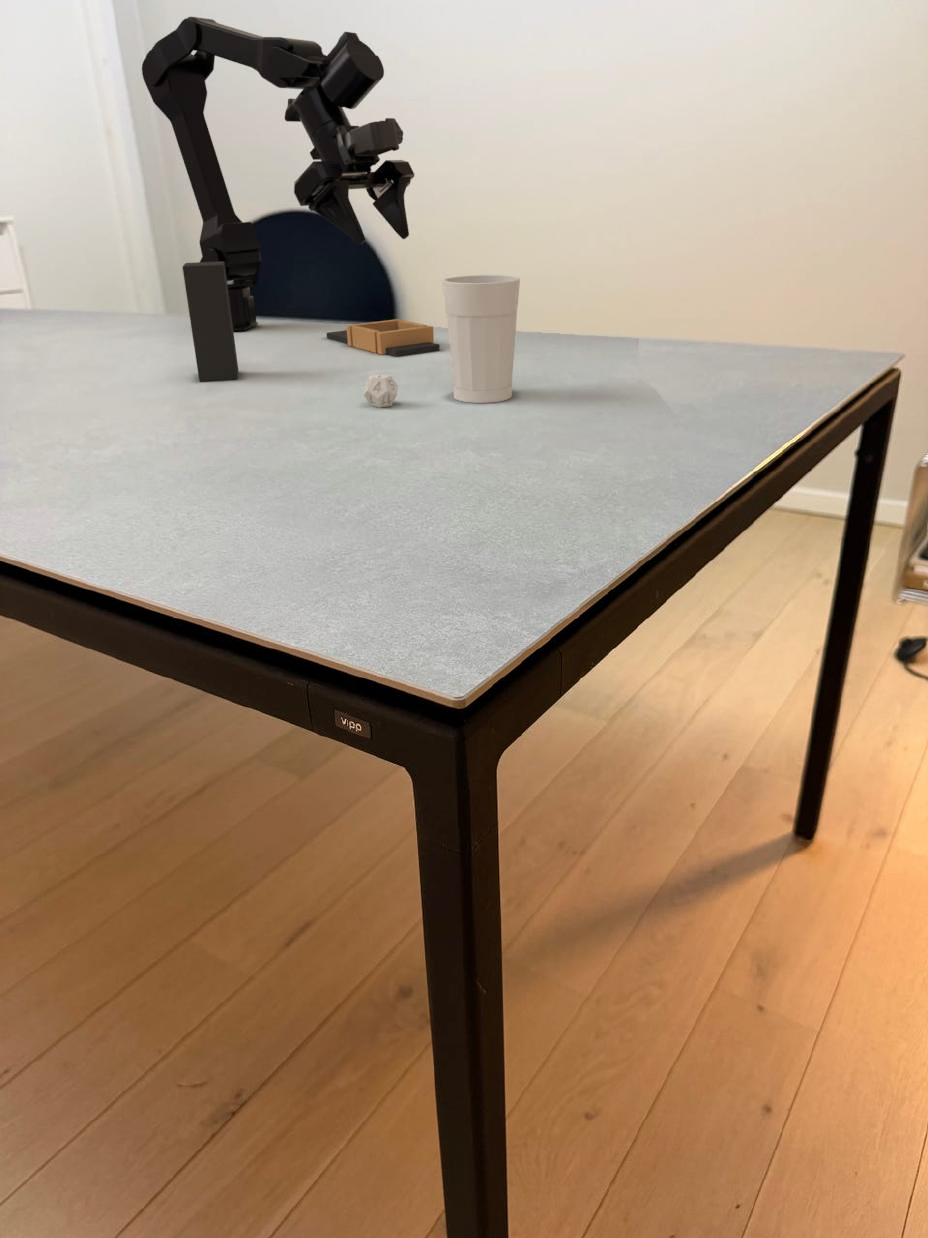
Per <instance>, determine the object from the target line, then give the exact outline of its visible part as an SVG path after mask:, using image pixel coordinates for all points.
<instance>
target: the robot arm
mask: <svg viewBox="0 0 928 1238" xmlns="http://www.w3.org/2000/svg"><path fill="white" fill-rule="evenodd" d="M193 51H195V53H194V54H192V53H193ZM216 57H218V58H221V59H223V60H224V59H225V60H226V61H230V62H233V63H235V64H240V65H242V66H245V67H248V68H252V69H253V70H255V71H256V72H258V74H259V75H260V77H261V78H262V79H264V81H265V80H266V82H268V83H270V84H271V85H273V86H275V87H277V88H279V89H290V90H293V89H294V90H300V91H301V92H299V93H298V95H297V97H295V98H288V99H287V107H286V109H285V112H284V121H285V122H294V123H295V122H296V123H301V125H302V127H303V129H304V130H305V132H306V134H307V136H308V138H309V141H310V142H311V144H312V146H313V148H312V149H311V151H310V152H309V154H310V156H311V159H312V160H313V161H311V162H312V163H310V165H309V166H308V167H307V168H306V169H305V170H304V171H303V172H302V174H300V175H299V176H298V178H297V179H296V180H295V181H294V182H293V183H294V184H293V185H294V186H293V194H294V196H295V198H296V200H297V203H298V204H299V206H300V207H306V206H308V207H307V208H308V209H309V211H311V212H315V213H317V214H318V215H319V216H320V217H322V218H323V219H324V220H326V221H328V222H329V223H330V224H332V225H334V226H335V227H336V228H337V229H338V230H340V231H341V232H343V233H344V234H345V235H346V236H348V237H349V238H350V239H351V240H353V241H354V242H355V243H357V245H362V244H364V242H365V241H366V237H365V234H364V231H363V228H362V226H361V223H360V221H359V219H358V216H357V214H356V213H355V210H354V207H353V205H352V203H351V201H350V197H349V192H350V191H349V190H363V189H365V190H366V193H367V194H368V196H369V198H371V199H372V200H373V202H372V205H373V207H374V208H375V209H376V210H377V212H378V213H379V214H380V215H381V216H382V217H383V219H384V220H385V221H386V222H387V223H388V225H389V226H390V227H391V229H393V230H394V232H395V233H396V234H397V235H398V237H400V238H401V239H402V240H406V239H407V238H408V237H409V236H410V231H409V224H408V217H407V213H406V205H405V193H406V189H407V187H409V186H410V185H411V181H412V179H414V178H415V172H414V170H413V168H412V166H411V164H410V161H406V160H403V159H386V160H384V162H382V164H381V165H379V167H378V168H377V169H376V170H375V171H372V167H373V166H376V165H377V164H378V163H379V162H380V161H381V159H380V156H379V155H382V154H385V153H389V152H391V151H393V152H395V151H398V150H399V149H400V145H401V144H402V143H403V140H404V137H403V136H404V131H403V129H402V128H401V126H400V125H399V122H398V121H397V120H396V118H394V117H386V118H384V120H379V121H371V122H368V123H365V124H363V125H361V126H359V125H352V124H351V122H350V121H349V118H348V116H347V114H346V113H345V110H344V108H345V109H349V110H354V109H356V108H357V107H358V106H359V105H360V104H361V103H362V101H363V100H364V99H365V98H366V97H367V96H368V95H369V94H370V93H371V91H373V89H374V88H375V87H376V86H377V85H378V84H379V83H380V82H381V80H382V79H383V78H384V75H385V69H384V66H383V62H382V60H381V59H380V57H379V56H378V55H377V54H376V53H375V52H374V51H373V50H372V49H371V47H369V45H367V44H366V43H365V42H363V41H362V40H360V38H359V36H358V33H356V32H351V31H344V32H343V33H342V34H341V36H340V37H339V38H338V41H337V43H336V44H335V45H334V47H332V49H331V50H330V51H329V53H328V54H324V53H323V48H322V46H320V44H319V43H318V42H316V41H313V40H305V39H297V38H289V37H283V36H282V37H281V36H262V35H258V34H256V33H255V34H254V33H251V32H248V31H245V30H241V29H238V28H235V27H232V26H228V25H225V24H221V23H219V22H217V21H215V20H214V19H213V18H205V17H198V16H188V17H186V18H185V17H184V18H183V20H181V22H180V23H179V24H178V26H177V27H176V29H174V30H173V31H172V32H169V33H167V35H165V36H164V37H162V38H160V39H159V40H157V41H156V42H155V43H154V45H153V46H152V48H151V49H150V50H149V51H148V52H147V53H146V55H145V58H144V59H143V61H142V63H141V74H142V79H143V81H144V84H145V86H146V88H147V91H148V93H149V95H150V97H151V99H152V102H153V104H154V105H155V106H156V107H157V108H158V109H159V111H161V112H162V114H163V115H164V116H165V117H166V118H167V119H168V120H169V122H170V124H171V126H172V129H173V133H174V136H175V139H176V142H177V145H178V149H179V151H180V154H181V158H182V161H183V164H184V167H185V170H186V173H187V176H188V179H189V183H190V185H191V186H190V187H191V189H192V192H193V194H194V198H195V201H196V204H197V207H198V210H199V213H200V216H201V220H202V226H201V232H200V237H199V248H200V252H201V256H202V257H201V258H200V260H199V262H222V261H224V262H225V270H226V278H227V285H228V293H229V301H230V309H231V317H232V324H233V332H234V331H237V332H239V331H241V332H243V331H246V330H249V329H251V328H254V327H256V326H258V325H259V321H257V314H256V306H255V298H254V296H253V295H251V289H250V287H255V286H257V285H258V280H259V279H258V278H259V271H260V264H261V263H262V258H261V252H260V250H262V247H261V245H260V243H259V241H258V239H257V235H256V230H255V227H254V225H253V223H252V221H242V219H240V218H239V216H238V215H236V212H235V210H234V206H233V203H232V200H231V197H230V194H229V191H228V187H227V184H226V181H225V178H224V174H223V171H222V168H221V165H220V162H219V159H218V155H217V153H216V150H215V146H214V143H213V140H212V137H211V133H210V130H209V126H208V124H207V120H206V117H205V109H206V102H207V99H208V98H207V97H208V89H207V84H206V80H207V79H208V78H209V77H210V76H211V74H212V73H213V72H214V70H215V58H216Z"/></svg>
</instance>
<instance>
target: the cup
mask: <svg viewBox="0 0 928 1238" xmlns="http://www.w3.org/2000/svg"><path fill="white" fill-rule="evenodd" d="M441 282H442V289H443V296H444V297H443V298H444V307H445V313H446V319H447V331H448V342H449V349H450V350H449V351H450V352H449V353H450V360H451V369H452V372H451V373H452V381H453V387H452V388H453V398H454V400H457V401H458V402H459V401H460V402H465V403H472V404H487V403H499V402H503V401H507V400H510V399H512V396H513V373H514V372H513V371H514V361H515V360H514V359H515V347H516V330H517V317H518V307H519V295H520V283H521V278H520V277H518V276H515V275H505V274H473V275H459V276H451V277H446V278H444V279H442V281H441Z"/></svg>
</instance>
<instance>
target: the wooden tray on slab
mask: <svg viewBox="0 0 928 1238" xmlns="http://www.w3.org/2000/svg"><path fill="white" fill-rule="evenodd" d="M434 336H435V335H434V326H432V325H428V324H424V323H418V322H414V321H409V320H402V319H399V318H396V319H388V320H380V321H370V322H363V323H362V322H361V323H355V324H347V325H346V329H345V330H338V331H336V330H335V331H328V332H326V339H328V340H331V341H332V340H333V341H335V342H336V341H337V342H340V343H344V344H347V346H348V347H352V348H356V349H358V350H363V351H367V352H371V353H374V354H378V355H388V356H392V357H403V356H410V355H417V354H424V353H429V352H437V351H440V344H439V343H435V339H434V338H435V337H434Z"/></svg>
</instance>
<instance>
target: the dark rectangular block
mask: <svg viewBox="0 0 928 1238" xmlns="http://www.w3.org/2000/svg"><path fill="white" fill-rule="evenodd" d="M182 272H183V279H184V287H185V294H186V300H187V307H188V315H189V321H190V328H191V334H192V341H193V346H194V347H193V348H194V354H195V361H196V368H197V374H198V381H199V382H215V381H231V380H232V381H234V380H238V378H239V364H238V363H239V362H238V357H237V347H236V341H235V334H234V331H233V324H232V317H231V309H230V301H229V293H228V285H227V281H228V279H227V278H226V270H225V262H224V261H222V262H200V261H199V262H197V261H196V262H185V263H184V264H183V265H182Z"/></svg>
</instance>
